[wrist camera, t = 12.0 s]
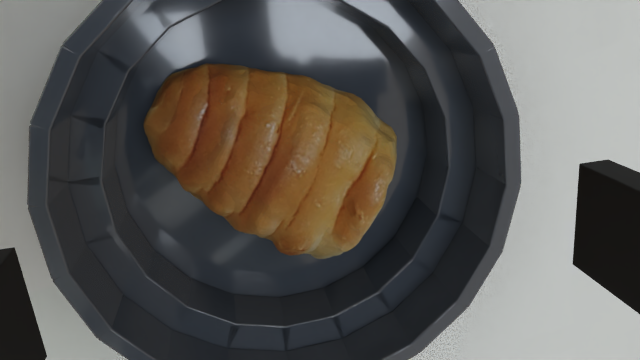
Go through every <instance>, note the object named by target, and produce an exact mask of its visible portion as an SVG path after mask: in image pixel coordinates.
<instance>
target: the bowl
mask: <svg viewBox="0 0 640 360" xmlns="http://www.w3.org/2000/svg"><path fill="white" fill-rule="evenodd" d="M206 63H207V64H228V65H240V66H245V67H248V68H256V69H259V70H264V71H270V72H284V73H288V74H293V75H303V76H307V77H310V78H312V79H314V80H316V81H318V82H320V83H322V84H324V85H328V86H331V87H332V88H335V89H337V90H340V91H344V92H348V93H351V94H354V95H356V96H358V97H359V98H361V99H362V100H363V101H364V102H365V103H366V104H367V105H368V106H369V107H370V108H371V109H372V111H373V112H374V114H375V115H376V116H377V117H378V118H379V119H380V120H382V121H383V122H384V123H386V124H387V125H389V126H390V127H392V129H393V131H394V132H395V134H396V136H397V146H396V149H397V160H396V166H395V171H394V175H393V179H392V181H391V182H390V184H389V185H388V189H387V193H386V198H385V201H384V204H383V206H382V208H381V210H380V211H379V213H378V214H377V216H376V218H375V219H374V221H373V223H372V224H371V226H370V227H369V229H368V230H367V231H366V233H365V234H364V235H363V236H362V238H361V240H360V241H359V243H358V244H357V245H356V246H355V247H353V248H352V249H350V250H349V251H346V252H343V253H342V254H341V255H338V256H332V257H330V258H326V259H317V258H314V257H313V256H312V255H311V254H305V253H303V254H300V255H286V254H283V253H281V252H280V251H279V250H278V249H277V248H276V246H275V245H274V243H273V241H271V240H269V239H266V238H261V237H259V236H257V235H255V234H247V233H243V232H240V231H238V230H235V229H234V228H233V227H232V226H231V225H230V223H229V222H228V221H227V220H226V219H225V218H224V217H223V216H221V215H218V214H216V213H214V212H213V211H211V210H210V209H209V208H208V207H207V206H206V205H205V204H204V203H203V201H201V200H199V199H197V198H196V197H194V196H193V195H192V194H191V193H190V192H188V191H185V190H184V189H183V188H182V186H181V185H180V183H179V181H178V179H177V178H176V177H175V176H174V175H173V174H172V173H171V172H169V171H168V170H167V169H166V168H165V167H164V166H163V165H162V164H160V163H159V162H158V161H157V160H156V159H155V157H154V154H153V153H152V148H151V145H150V144H149V141H148V137H147V135H146V134H145V130H144V125H143V124H144V120H145V117H146V115H147V113H148V111H149V109H150V108H151V106H152V104H153V102H154V99H155V97H156V94H157V92H158V90H159V89H160V87H161V86H162V84H163V82H164V81H165V79H166V78H167V77H168V76H170V75H171V74H173V73H176V72H179V71H182V70H185V69H190V68H195V67H198V66H200V65H203V64H206ZM30 124H31V125H30V126H29V157H28V193H27V204H28V210H29V213H30V216H31V219H32V222H33V225H34V228H35V231H36V234H37V237H38V240H39V243H40V246H41V249H42V252H43V255H44V258H45V261H46V264H47V266H48V269H49V272H50V275H51V278H52V279H53V282H54V284H55V285H56V286H57V287H58V289H59V290H60V291H61V293H62V294H63V295H64V296H65V298H66V299H67V300H68V302H69V303H70V304H71V305H72V307H73V308H74V309H75V311H76V312H77V313H78V314H79V316H80V317H81V318H82V320H83V321H84V322H85V323H86V325H87V326H88V327H89V329H90V330H91V331H92V332H93V334H94V335H95V336H96V338H99V340H100V341H102V342H103V343H105V344H106V345H108V346H109V347H111V348H112V349H113V350H115V351H116V352H118V353H119V354H121V355H122V356H124V357H125V358H127V359H128V360H408V359H410V358H412V357H414V356H416V355H417V354H418V353H420V352H421V351H422V350H423V349H424V348H426V347H427V346H428V345H429V344H430V343H431V342H432V341H433V340H434V339H435V338H436V337H437V336H438V335H439V334H440V333H441V332H443V331H444V330H445V329H446V328H447V327H448V326H449V325H450V324H451V323H452V322H453V321H454V320H455V319H456V318H457V317H458V316H460V315H461V314H462V313H463V312H464V311H465V310H466V309H467V307H469V305H470V304H471V302H472V301H473V299H474V297H475V296H476V294H477V292H478V291H479V289H480V287H481V286H482V284H483V283H484V281H485V279H486V278H487V276H488V274H489V273H490V271H491V269H492V268H493V266H494V265H495V263H496V261H497V260H498V258H499V256H500V255H501V253H502V251H503V248H504V244H505V241H506V237H507V234H508V230H509V226H510V223H511V219H512V215H513V212H514V208H515V204H516V201H517V197H518V194H519V190H520V184H521V160H520V127H519V114H518V110H517V107H516V105H515V102H514V99H513V96H512V93H511V91H510V88H509V85H508V82H507V80H506V77H505V74H504V71H503V69H502V66H501V63H500V60H499V57H498V55H497V52H496V49H495V47H494V46H493V43H492V42H491V41H490V39H489V38H488V37H487V36H486V34H485V33H484V32H483V31H482V29H481V28H480V27H479V26H478V24H477V23H476V22H475V21H474V19H473V18H472V17H471V16H470V14H469V13H468V12H467V11H466V9H465V8H464V7H463V6H462V4H461V3H460V2H459V1H458V0H102V1H101V2H100V3H99V4H98V5H97V6H96V7H95V9H94V10H93V11H92V12H91V13H90V14H89V15H88V16H87V17H86V18H85V20H84V21H83V22H82V23H81V24H80V25H79V26H78V27H77V28H76V29H75V30H74V32H73V33H72V34H71V35H70V36H69V37H68V38H67V39H66V40H65V41H64V42H63V45H62V46H61V47H60V50H59V52H58V55H57V57H56V60H55V62H54V65H53V67H52V70H51V72H50V75H49V77H48V80H47V82H46V84H45V87H44V89H43V92H42V94H41V97H40V99H39V102H38V104H37V107H36V109H35V112H34V114H33V117H32V119H31V121H30Z"/></svg>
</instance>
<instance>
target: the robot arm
mask: <svg viewBox="0 0 640 360" xmlns="http://www.w3.org/2000/svg"><path fill="white" fill-rule="evenodd" d="M573 265H575V266H576V267H577V268H579V269H580V270H581V271H583V272H584V273H585V274H587V275H588V276H589V277H591V278H592V279H593V280H595V281H596V282H597V283H599V284H600V285H601V286H603V287H604V288H606V289H607V290H608V291H610V292H611V293H612V294H614V295H615V296H616V297H618V298H619V299H620V300H622V301H623V302H624V303H626V304H627V305H628V306H630V307H631V308H632V309H634V310H635V311H636V312H638V313H639V314H640V173H639V172H637V171H634V170H632V169H629V168H627V167H625V166H622V165H620V164H617V163H615V162H612V161H610V160H603V161H596V162H589V163H582V164H580V166H579V181H578V195H577V210H576V225H575V239H574V254H573ZM46 357H47V355H46V351H45V348H44V345H43V341H42V338H41V335H40V331H39V328H38V325H37V321H36V318H35V314H34V311H33V308H32V304H31V301H30V298H29V294H28V291H27V288H26V284H25V281H24V278H23V274H22V271H21V267H20V264H19V261H18V257H17V254H16V251H15V247H14V248H7V249H1V250H0V360H45V359H46Z"/></svg>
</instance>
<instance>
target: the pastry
mask: <svg viewBox="0 0 640 360" xmlns="http://www.w3.org/2000/svg"><path fill="white" fill-rule="evenodd" d="M143 125H144V130H145V134H146V135H147V137H148V141H149V144H150V145H151V148H152V153H153V154H154V157H155V159H156V160H157V161H158V162H159V163H160V164H162V165H163V166H164V167H165V168H166V169H167V170H168V171H169V172H171V173H172V174H173V175H174V176H175V177H176V178H177V179H178V181H179V183H180V185H181V186H182V188H183V189H184V190H185V191H188V192H190V193H191V194H192V195H193V196H194V197H196V198H197V199H199V200H201V201H203V203H204V204H205V205H206V206H207V207H208V208H209V209H210V210H211V211H213V212H214V213H216V214H218V215H221V216H223V217H224V218H225V219H226V220H227V221H228V222H229V223H230V225H231V226H232V227H233V228H234V229H235V230H238V231H240V232H243V233H247V234H255V235H257V236H259V237H261V238H266V239H269V240H271V241H273V243H274V245H275V246H276V248H277V249H278V250H279V251H280V252H281V253H283V254H286V255H300V254H303V253H305V254H311V255H312V256H313V257H314V258H317V259H326V258H330V257H332V256H338V255H341V254H342V253H343V252H346V251H349V250H350V249H352V248H353V247H355V246H356V245H357V244H358V243H359V241H360V240H361V238H362V236H363V235H364V234H365V233H366V231H367V230H368V229H369V227H370V226H371V224H372V223H373V221H374V219H375V218H376V216H377V214H378V213H379V211H380V210H381V208H382V206H383V204H384V201H385V198H386V193H387V189H388V185H389V184H390V182H391V181H392V179H393V175H394V171H395V166H396V160H397V149H396V146H397V136H396V134H395V132H394V131H393V129H392V127H390V126H389V125H387V124H386V123H384V122H383V121H382V120H380V119H379V118H378V117H377V116H376V115H375V114H374V112H373V111H372V109H371V108H370V107H369V106H368V105H367V104H366V103H365V102H364V101H363V100H362V99H361V98H359V97H358V96H356V95H354V94H351V93H348V92H344V91H340V90H337V89H335V88H332V87H331V86H328V85H324V84H322V83H320V82H318V81H316V80H314V79H312V78H310V77H307V76H303V75H293V74H288V73H284V72H270V71H264V70H259V69H256V68H248V67H245V66H240V65H228V64H207V63H206V64H203V65H200V66H198V67H195V68H190V69H185V70H182V71H179V72H176V73H173V74H171V75H170V76H168V77H167V78H166V79H165V81H164V82H163V84H162V86H161V87H160V89H159V90H158V92H157V94H156V97H155V99H154V102H153V104H152V106H151V108H150V109H149V111H148V113H147V115H146V117H145V120H144V124H143Z"/></svg>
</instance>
